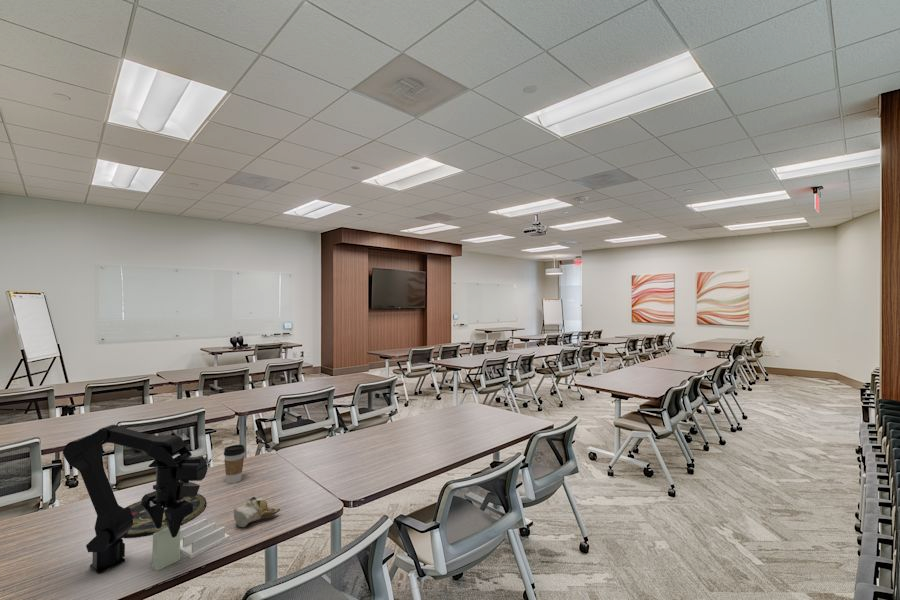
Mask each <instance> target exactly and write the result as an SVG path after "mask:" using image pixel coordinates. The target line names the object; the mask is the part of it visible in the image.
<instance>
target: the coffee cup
mask: <svg viewBox="0 0 900 600" xmlns="http://www.w3.org/2000/svg"><path fill="white" fill-rule="evenodd" d="M245 452H246V449H245V445H243V444H234V445H229V446H226V447H224V451H223V456H224V459H223V461H224V469H225V480H226V483H227V484H236V483H238V482H240V481H241V480H242V477H243V467H244V459H245V455H244V454H245Z"/></svg>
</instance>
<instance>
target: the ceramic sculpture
mask: <svg viewBox="0 0 900 600" xmlns="http://www.w3.org/2000/svg"><path fill="white" fill-rule="evenodd" d="M280 511H281V508H273V507H272V508H271V507H270V508H269V506H268V502H267V500H265V499H264V498H263V497H262V498H261V497H255V496H253V497H251V498H249V499H248V500H247V502H246V503H245V504H244V506H240V507H235V508H234V509H233V519H234V520H235V523H236V525H237V526H238V527H240V528H245V527H247V526H248V524H249V523H251V522H256V521H260V520H261V519H266V518H267V519H268V518H271V517H272V516H274V515H276V514H277V513H278V512H280Z"/></svg>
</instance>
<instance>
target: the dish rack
mask: <svg viewBox="0 0 900 600" xmlns="http://www.w3.org/2000/svg"><path fill="white" fill-rule="evenodd" d="M229 539H230V535H229V534H227V533H226V527H225V526H222V527H219V528H218V529H217V523H216V522H215V521H214V522H212V523H210V524H208V518H207V517H206V518H204V519H201V520H199V521H196V522H195V523H192V524H190V525H188V526H185V527H183V528H180V554H183V555H185V556H186V557H188V558H189V559H193V558H194V557H196V556H199V555H200V554H202V553H205V552H206V551H208V550H210V549H212V548H214V547H216V546H218V545H220V544H222V543H225V542H226V541H227V540H229ZM225 540H226V541H225Z"/></svg>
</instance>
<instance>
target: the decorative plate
mask: <svg viewBox="0 0 900 600" xmlns="http://www.w3.org/2000/svg"><path fill="white" fill-rule="evenodd" d="M184 500H185V501H188V502H190V503H192V504H193V505H194V511H193V512H192V513H190V514H189V515H187V516H186V517H185V518H184V519H183V521H182V523H181V526H183V525H186V524H187V523H189V522H190V521H193V520H194V519H196V518H197V517H199V516H200V515H201V514H202V513H203V512H204V511H205V509H206V508H207V499H206V498H205V496H204V495H202V494H200V493H197V496H195V497H193V496H184V499H181V500H177V502H178V503H179V502H181V501H184ZM126 507H129V508H130V510H131V514H132V515H133V516H134V518H133V525H132V527H131V529H130V530H129V531H128V534H127V535H126V536H125V537H123V538H122V539H135V538H136V539H137V538H142V537H143V538H144V537H149V536H153V533H156V532H158V531H160V530H163V529H165V528H167V527H168V526H167V524H166V521H165V518H166V516H165V510H166V509H167V507H165V508H164V513H163V520H162V525H161V528H158V529H157V528H156V527H155V525H154V523H153V521H152V520H151V518H150V516H149V515H148V513H147V512H146V510H145V509H144V506H143V505H141V500H139V501H137V502H134V503H133V504H130V505H128V506H126ZM126 507H123V508H124V509H125V508H126Z"/></svg>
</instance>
